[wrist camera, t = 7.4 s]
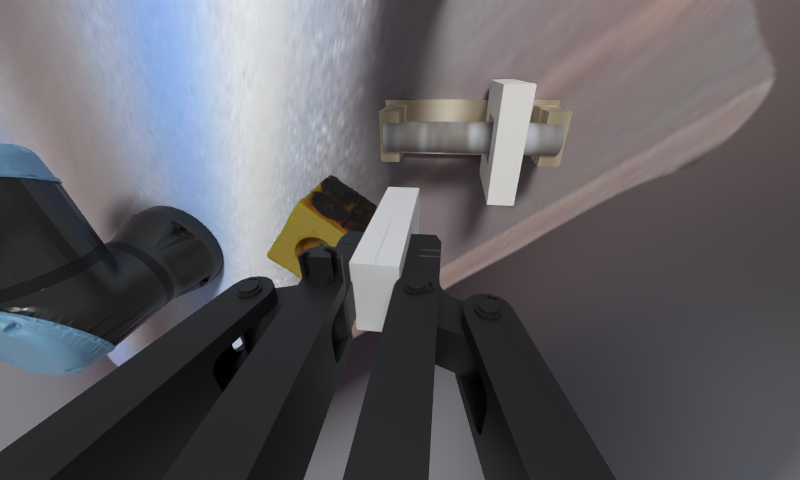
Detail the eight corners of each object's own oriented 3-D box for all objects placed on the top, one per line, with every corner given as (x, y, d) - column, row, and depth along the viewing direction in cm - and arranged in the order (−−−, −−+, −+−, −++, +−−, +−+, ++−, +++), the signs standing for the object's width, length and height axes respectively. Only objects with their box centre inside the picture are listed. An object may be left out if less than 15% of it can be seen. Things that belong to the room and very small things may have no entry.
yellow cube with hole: (391, 215, 43) (375, 252, 34) (355, 259, 48) (333, 301, 39) (331, 171, 41) (298, 198, 32) (300, 221, 46) (264, 257, 37)
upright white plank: (479, 172, 37) (486, 204, 28) (490, 79, 32) (504, 84, 23) (499, 173, 36) (513, 205, 28) (514, 79, 31) (536, 84, 23)
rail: (388, 151, 38) (374, 169, 31) (386, 99, 35) (370, 107, 28) (545, 155, 35) (566, 175, 29) (558, 99, 32) (585, 107, 26)
